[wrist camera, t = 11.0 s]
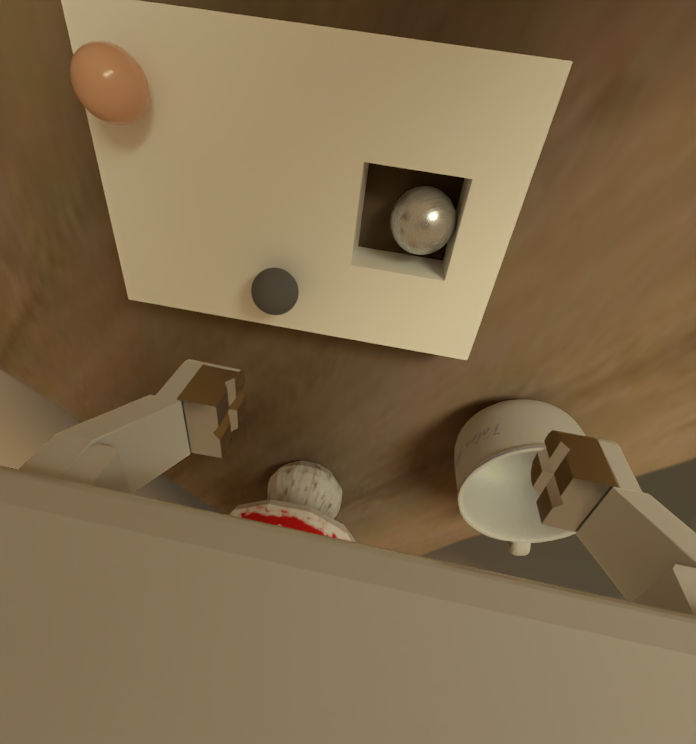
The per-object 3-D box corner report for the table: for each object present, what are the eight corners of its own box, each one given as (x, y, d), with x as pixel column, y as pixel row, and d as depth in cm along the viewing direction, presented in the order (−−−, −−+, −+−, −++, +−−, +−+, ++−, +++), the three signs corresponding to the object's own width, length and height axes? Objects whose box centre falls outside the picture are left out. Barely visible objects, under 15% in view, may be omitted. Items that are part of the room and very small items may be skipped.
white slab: (554, 62, 22) (572, 61, 19) (463, 334, 32) (467, 360, 29) (102, -2, 23) (58, -11, 20) (153, 279, 33) (128, 299, 31)
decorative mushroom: (305, 531, 51) (269, 672, 39) (221, 463, 46) (149, 603, 34) (398, 496, 45) (388, 653, 33) (312, 413, 39) (263, 564, 28)
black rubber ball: (304, 264, 27) (292, 283, 25) (302, 305, 29) (291, 327, 26) (259, 256, 27) (243, 275, 25) (260, 298, 29) (245, 319, 27)
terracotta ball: (156, 47, 21) (116, 44, 18) (167, 126, 23) (131, 133, 21) (91, 38, 21) (41, 33, 19) (107, 116, 24) (64, 123, 21)
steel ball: (441, 178, 27) (477, 198, 24) (427, 239, 29) (458, 264, 26) (385, 176, 25) (416, 197, 22) (375, 241, 28) (402, 267, 25)
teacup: (467, 371, 34) (477, 441, 28) (604, 390, 33) (647, 467, 27) (435, 480, 42) (436, 554, 36) (544, 498, 42) (565, 576, 35)
